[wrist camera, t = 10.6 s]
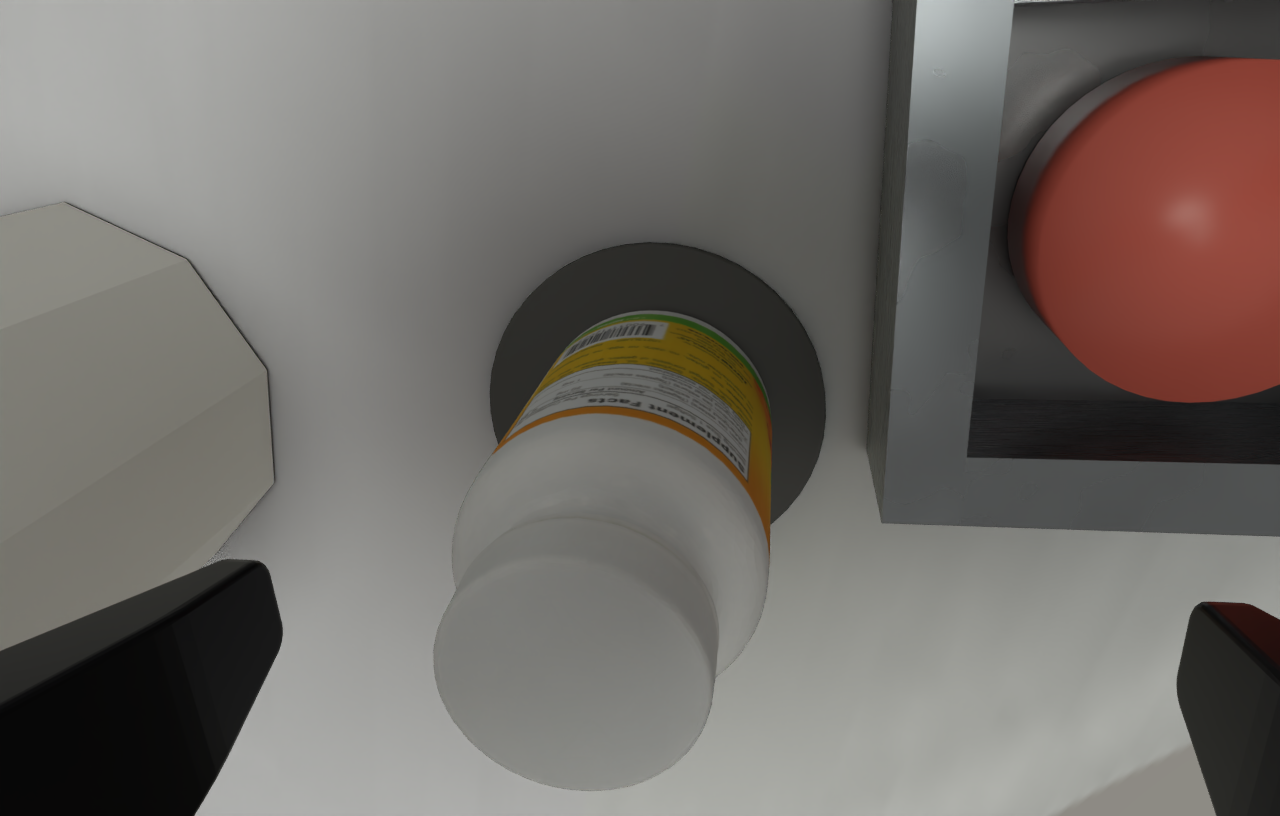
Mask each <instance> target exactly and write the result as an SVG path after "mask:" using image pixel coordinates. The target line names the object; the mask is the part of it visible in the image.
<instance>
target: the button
mask: <svg viewBox="0 0 1280 816" xmlns="http://www.w3.org/2000/svg"><path fill="white" fill-rule="evenodd" d="M1007 239H1008V250H1009V258H1010V262H1011V266H1012V270H1013V274H1014V277H1015V279H1016V281H1017V284H1018V286H1019V289H1020V291H1021V293H1022V294H1023V296H1024V298H1025V299H1026V301H1027V303H1028V304H1029V306H1030V307H1031V308H1032V309H1033V311H1034V312H1035V313H1036V314H1037V315H1038V317H1039V318H1040V319H1041V320H1042V321H1043V322H1044V323H1045V324H1046V326H1047V327H1048V328H1049V329H1050V330H1051V331H1052V332H1053V333H1054V334H1055V335H1056V336H1057V338H1058V339H1059V340H1060V341H1061V342H1062V343H1063V344H1064V345H1065V346H1066V347H1067V348H1068V350H1069V351H1070V352H1071V353H1072V354H1073V355H1074V356H1075V357H1076V358H1077V359H1078V360H1079V361H1080V362H1081V363H1083V364H1084V365H1085V366H1086V367H1087V368H1088V369H1089V370H1090V371H1092V372H1093V373H1095V374H1096V375H1098V376H1099V377H1101V378H1102V379H1104V380H1105V381H1107V382H1109V383H1111V384H1113V385H1115V386H1117V387H1119V388H1121V389H1124V390H1126V391H1129V392H1132V393H1135V394H1138V395H1141V396H1144V397H1148V398H1153V399H1159V400H1164V401H1172V402H1186V403H1194V402H1214V401H1220V400H1227V399H1234V398H1238V397H1242V396H1246V395H1250V394H1254V393H1257V392H1261V391H1263V390H1266V389H1269V388H1271V387H1274V386H1277V385H1279V384H1280V60H1275V59H1254V58H1233V57H1210V56H1190V57H1180V58H1171V59H1166V60H1162V61H1158V62H1153V63H1149V64H1146V65H1143V66H1140V67H1138V68H1135V69H1132V70H1129V71H1127V72H1124V73H1122V74H1120V75H1118V76H1116V77H1114V78H1112V79H1110V80H1108V81H1106V82H1104V83H1103V84H1101V85H1100V86H1098V87H1097V88H1095V89H1094V90H1092V91H1090V92H1089V93H1087V94H1086V95H1085V96H1083V97H1082V98H1081V99H1080V100H1078V101H1077V102H1076V103H1075V104H1073V105H1072V106H1071V107H1070V108H1068V109H1067V110H1066V111H1065V112H1064V113H1063V114H1062V115H1061V116H1060V117H1059V118H1058V119H1057V120H1056V121H1055V122H1054V124H1053V125H1052V126H1051V127H1050V128H1049V129H1048V131H1047V132H1046V133H1045V135H1044V136H1043V137H1042V138H1041V140H1040V141H1039V142H1038V144H1037V145H1036V147H1035V148H1034V150H1033V152H1032V153H1031V155H1030V157H1029V158H1028V160H1027V162H1026V164H1025V166H1024V168H1023V170H1022V172H1021V175H1020V177H1019V179H1018V182H1017V185H1016V188H1015V191H1014V194H1013V197H1012V201H1011V206H1010V212H1009V218H1008V236H1007Z"/></svg>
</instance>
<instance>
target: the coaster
mask: <svg viewBox="0 0 1280 816" xmlns="http://www.w3.org/2000/svg"><path fill="white" fill-rule="evenodd" d="M635 311H668V312H674V313H679V314H683V315H687V316H690V317H693V318H696V319H698V320H701V321H703V322H705V323H707V324H709V325H711V326H712V327H714V328H716V329H717V330H719V331H720V332H722V333H723V334H725V335H726V336H727V337H728V338H730V339H731V340H732V341H733V342H734V343H735V344H736V345H737V346H738V347H739V348H740V349H741V350H742V351H743V352H744V353H745V354H746V355H747V357H748V358H749V359H750V361H751V362H752V363H753V365H754V367H755V368H756V370H757V371H758V373H759V375H760V377H761V379H762V381H763V384H764V386H765V389H766V392H767V395H768V399H769V404H770V411H771V421H772V466H771V512H770V525H771V524H772V523H773V522H774V521H775V520H776V519H778V518H779V517H780V516H781V515H782V514H783V513H784V512H785V511H786V510H787V509H788V508H789V507H790V505H791V504H792V503H793V502H794V500H795V499H796V498H797V497H798V495H799V494H800V493H801V491H802V489H803V488H804V486H805V484H806V483H807V481H808V479H809V478H810V476H811V474H812V471H813V469H814V467H815V464H816V462H817V460H818V457H819V453H820V449H821V445H822V442H823V438H824V429H825V420H826V406H825V390H824V385H823V379H822V373H821V368H820V365H819V362H818V359H817V356H816V353H815V350H814V347H813V345H812V343H811V341H810V339H809V337H808V335H807V333H806V331H805V329H804V327H803V326H802V324H801V323H800V322H799V320H798V319H797V317H796V316H795V314H794V313H793V311H792V310H791V309H790V308H789V306H788V305H787V304H786V303H785V302H784V301H783V300H782V299H781V298H780V296H779V295H778V294H777V293H776V292H775V291H774V290H772V289H771V288H770V287H769V286H768V285H767V284H765V283H764V282H763V281H762V280H761V279H759V278H758V277H757V276H755V275H753V274H752V273H750V272H749V271H747V270H746V269H744V268H743V267H741V266H740V265H738V264H735V263H733V262H731V261H729V260H727V259H725V258H723V257H721V256H719V255H716V254H713V253H710V252H707V251H704V250H700V249H697V248H693V247H688V246H682V245H677V244H669V243H651V242H649V243H636V244H625V245H621V246H616V247H611V248H607V249H603V250H600V251H597V252H595V253H592V254H589V255H586V256H584V257H582V258H580V259H578V260H576V261H574V262H572V263H570V264H568V265H566V266H565V267H563V268H562V269H560V270H559V271H557V272H556V273H555V274H553V275H552V276H550V277H549V278H548V279H546V280H545V281H544V282H543V283H542V284H541V285H540V286H539V287H538V288H537V289H536V290H535V291H534V292H533V293H532V294H531V295H530V296H529V297H528V298H527V299H526V300H525V302H524V303H523V304H522V306H521V307H520V308H519V309H518V311H517V312H516V313H515V314H514V316H513V318H512V320H511V321H510V323H509V325H508V327H507V328H506V330H505V332H504V334H503V336H502V339H501V341H500V344H499V347H498V349H497V352H496V356H495V360H494V364H493V368H492V374H491V385H490V406H491V415H492V421H493V427H494V432H495V435H496V438H497V441H498V444H499V443H500V442H501V440H502V439H503V438H504V436H505V435H506V433H507V432H508V431H509V429H510V428H511V426H512V425H513V423H514V422H515V420H516V419H517V417H518V416H519V414H520V413H521V411H522V410H523V408H524V407H525V406H526V404H527V403H528V401H529V400H530V398H531V397H532V395H533V394H534V392H535V391H536V389H537V388H538V386H539V385H540V383H541V382H542V380H543V379H544V377H545V376H546V374H547V373H548V371H549V370H550V369H551V367H552V366H553V364H554V363H555V362H556V360H557V359H558V357H559V356H560V355H561V353H562V352H563V351H564V350H565V349H566V347H567V346H568V345H569V344H570V343H571V342H572V341H574V340H575V339H576V338H577V337H578V336H579V335H580V334H582V333H583V332H584V331H586V330H587V329H589V328H590V327H592V326H594V325H595V324H597V323H599V322H601V321H603V320H606V319H608V318H611V317H613V316H617V315H620V314H624V313H629V312H635Z"/></svg>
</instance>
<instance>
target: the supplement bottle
mask: <svg viewBox="0 0 1280 816" xmlns="http://www.w3.org/2000/svg"><path fill="white" fill-rule="evenodd" d="M771 466H772V421H771V411H770V404H769V399H768V395H767V392H766V389H765V386H764V384H763V381H762V379H761V377H760V375H759V373H758V371H757V370H756V368H755V367H754V365H753V363H752V362H751V361H750V359H749V358H748V357H747V355H746V354H745V353H744V352H743V351H742V350H741V349H740V348H739V347H738V346H737V345H736V344H735V343H734V342H733V341H732V340H731V339H730V338H728V337H727V336H726V335H725V334H723V333H722V332H720V331H719V330H717V329H716V328H714V327H712V326H711V325H709V324H707V323H705V322H703V321H701V320H698V319H696V318H693V317H690V316H687V315H683V314H679V313H674V312H668V311H635V312H629V313H624V314H620V315H617V316H613V317H611V318H608V319H606V320H603V321H601V322H599V323H597V324H595V325H594V326H592V327H590V328H589V329H587V330H586V331H584V332H583V333H582V334H580V335H579V336H578V337H577V338H576V339H575V340H574V341H572V342H571V343H570V344H569V345H568V346H567V347H566V349H565V350H564V351H563V352H562V353H561V355H560V356H559V357H558V359H557V360H556V362H555V363H554V364H553V366H552V367H551V369H550V370H549V371H548V373H547V374H546V376H545V377H544V379H543V380H542V382H541V383H540V385H539V386H538V388H537V389H536V391H535V392H534V394H533V395H532V397H531V398H530V400H529V401H528V403H527V404H526V406H525V407H524V408H523V410H522V411H521V413H520V414H519V416H518V417H517V419H516V420H515V422H514V423H513V425H512V426H511V428H510V429H509V431H508V432H507V433H506V435H505V436H504V438H503V439H502V440H501V442H500V443H499V445H498V446H497V448H496V449H495V450H494V452H493V453H492V455H491V456H490V458H489V459H488V461H487V462H486V464H485V465H484V467H483V468H482V470H481V471H480V473H479V474H478V476H477V477H476V479H475V481H474V482H473V484H472V486H471V487H470V489H469V491H468V493H467V495H466V497H465V499H464V501H463V504H462V506H461V509H460V512H459V514H458V518H457V521H456V525H455V530H454V535H453V544H452V568H453V577H454V582H455V586H456V592H455V594H454V596H453V598H452V600H451V602H450V604H449V605H448V607H447V609H446V611H445V613H444V614H443V617H442V619H441V622H440V624H439V627H438V630H437V634H436V639H435V644H434V672H435V679H436V683H437V687H438V691H439V693H440V696H441V698H442V701H443V703H444V705H445V707H446V709H447V711H448V713H449V714H450V716H451V718H452V719H453V721H454V723H455V724H456V725H457V726H458V727H459V729H460V730H461V731H462V732H463V734H464V735H465V736H466V737H467V739H468V740H469V741H470V742H471V743H473V744H474V745H475V746H476V747H477V748H478V749H479V750H480V751H482V752H483V753H484V754H485V755H486V756H488V757H489V758H491V759H492V760H494V761H495V762H496V763H498V764H500V765H501V766H503V767H505V768H506V769H508V770H510V771H512V772H514V773H516V774H518V775H520V776H522V777H525V778H527V779H530V780H533V781H535V782H538V783H541V784H545V785H549V786H552V787H557V788H562V789H570V790H581V791H601V790H612V789H618V788H623V787H628V786H631V785H635V784H638V783H641V782H644V781H646V780H648V779H650V778H652V777H654V776H656V775H658V774H660V773H662V772H663V771H665V770H667V769H668V768H670V767H672V766H673V765H674V764H675V763H676V762H678V761H679V760H680V759H681V758H682V757H683V756H684V755H685V754H686V753H687V752H688V751H689V750H690V748H691V747H692V746H693V745H694V743H695V742H696V740H697V739H698V737H699V736H700V734H701V732H702V730H703V728H704V726H705V724H706V721H707V718H708V715H709V712H710V708H711V705H712V698H713V691H714V683H715V678H716V677H717V676H718V675H719V674H720V673H722V672H723V671H724V670H725V669H726V668H728V667H729V665H730V664H731V663H732V662H733V661H734V660H735V659H736V658H737V657H738V656H739V655H740V653H741V652H742V651H743V649H744V648H745V646H746V645H747V643H748V641H749V640H750V638H751V637H752V635H753V633H754V631H755V629H756V627H757V624H758V622H759V620H760V618H761V614H762V611H763V607H764V603H765V599H766V593H767V585H768V575H769V561H770V512H771Z"/></svg>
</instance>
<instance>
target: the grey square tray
mask: <svg viewBox="0 0 1280 816" xmlns="http://www.w3.org/2000/svg"><path fill="white" fill-rule="evenodd" d="M1190 56H1210V57H1233V58H1254V59H1275V60H1280V0H893V8H892V25H891V42H890V59H889V77H888V94H887V111H886V128H885V145H884V162H883V179H882V196H881V213H880V230H879V247H878V264H877V281H876V298H875V315H874V332H873V349H872V366H871V383H870V400H869V417H868V434H867V454H868V459H869V464H870V469H871V474H872V479H873V483H874V488H875V493H876V498H877V503H878V507H879V512H880V517H881V522H882V523H893V524H923V525H952V526H982V527H1012V528H1041V529H1071V530H1101V531H1130V532H1160V533H1190V534H1219V535H1249V536H1279V537H1280V384H1279V385H1277V386H1274V387H1271V388H1269V389H1266V390H1263V391H1261V392H1257V393H1254V394H1250V395H1246V396H1242V397H1238V398H1234V399H1227V400H1220V401H1214V402H1194V403H1186V402H1172V401H1164V400H1159V399H1153V398H1148V397H1144V396H1141V395H1138V394H1135V393H1132V392H1129V391H1126V390H1124V389H1121V388H1119V387H1117V386H1115V385H1113V384H1111V383H1109V382H1107V381H1105V380H1104V379H1102V378H1101V377H1099V376H1098V375H1096V374H1095V373H1093V372H1092V371H1090V370H1089V369H1088V368H1087V367H1086V366H1085V365H1084V364H1083V363H1081V362H1080V361H1079V360H1078V359H1077V358H1076V357H1075V356H1074V355H1073V354H1072V353H1071V352H1070V351H1069V350H1068V348H1067V347H1066V346H1065V345H1064V344H1063V343H1062V342H1061V341H1060V340H1059V339H1058V338H1057V336H1056V335H1055V334H1054V333H1053V332H1052V331H1051V330H1050V329H1049V328H1048V327H1047V326H1046V324H1045V323H1044V322H1043V321H1042V320H1041V319H1040V318H1039V317H1038V315H1037V314H1036V313H1035V312H1034V311H1033V309H1032V308H1031V307H1030V306H1029V304H1028V303H1027V301H1026V299H1025V298H1024V296H1023V294H1022V293H1021V291H1020V289H1019V286H1018V284H1017V281H1016V279H1015V277H1014V274H1013V270H1012V266H1011V262H1010V258H1009V250H1008V239H1007V236H1008V218H1009V212H1010V206H1011V201H1012V197H1013V194H1014V191H1015V188H1016V185H1017V182H1018V179H1019V177H1020V175H1021V172H1022V170H1023V168H1024V166H1025V164H1026V162H1027V160H1028V158H1029V157H1030V155H1031V153H1032V152H1033V150H1034V148H1035V147H1036V145H1037V144H1038V142H1039V141H1040V140H1041V138H1042V137H1043V136H1044V135H1045V133H1046V132H1047V131H1048V129H1049V128H1050V127H1051V126H1052V125H1053V124H1054V122H1055V121H1056V120H1057V119H1058V118H1059V117H1060V116H1061V115H1062V114H1063V113H1064V112H1065V111H1066V110H1067V109H1068V108H1070V107H1071V106H1072V105H1073V104H1075V103H1076V102H1077V101H1078V100H1080V99H1081V98H1082V97H1083V96H1085V95H1086V94H1087V93H1089V92H1090V91H1092V90H1094V89H1095V88H1097V87H1098V86H1100V85H1101V84H1103V83H1104V82H1106V81H1108V80H1110V79H1112V78H1114V77H1116V76H1118V75H1120V74H1122V73H1124V72H1127V71H1129V70H1132V69H1135V68H1138V67H1140V66H1143V65H1146V64H1149V63H1153V62H1158V61H1162V60H1166V59H1171V58H1180V57H1190Z"/></svg>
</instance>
